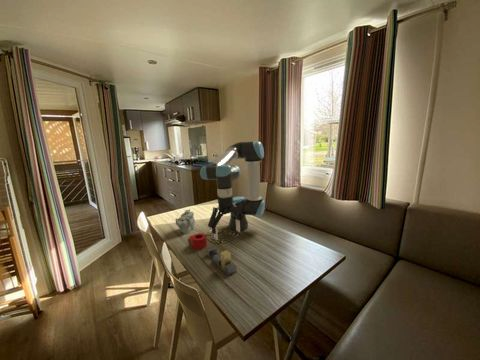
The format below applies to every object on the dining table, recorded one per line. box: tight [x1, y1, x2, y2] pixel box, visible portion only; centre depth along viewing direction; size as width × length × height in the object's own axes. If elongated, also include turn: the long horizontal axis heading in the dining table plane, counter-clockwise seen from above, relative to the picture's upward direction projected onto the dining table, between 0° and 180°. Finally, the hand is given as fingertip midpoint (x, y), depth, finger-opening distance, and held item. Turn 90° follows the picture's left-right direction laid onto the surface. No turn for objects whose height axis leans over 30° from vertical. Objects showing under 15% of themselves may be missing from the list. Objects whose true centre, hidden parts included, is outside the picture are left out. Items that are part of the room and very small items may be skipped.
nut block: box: [219, 249, 232, 270], centre depth 107 cm, size 4×4×8 cm
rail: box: [206, 246, 237, 276], centre depth 112 cm, size 24×5×4 cm, turn 35°
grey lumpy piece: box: [174, 208, 196, 235], centre depth 151 cm, size 15×14×17 cm
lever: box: [189, 232, 208, 251], centre depth 135 cm, size 18×9×7 cm, turn 37°
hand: (227, 234), depth 106 cm, fingers open, 13 cm apart
